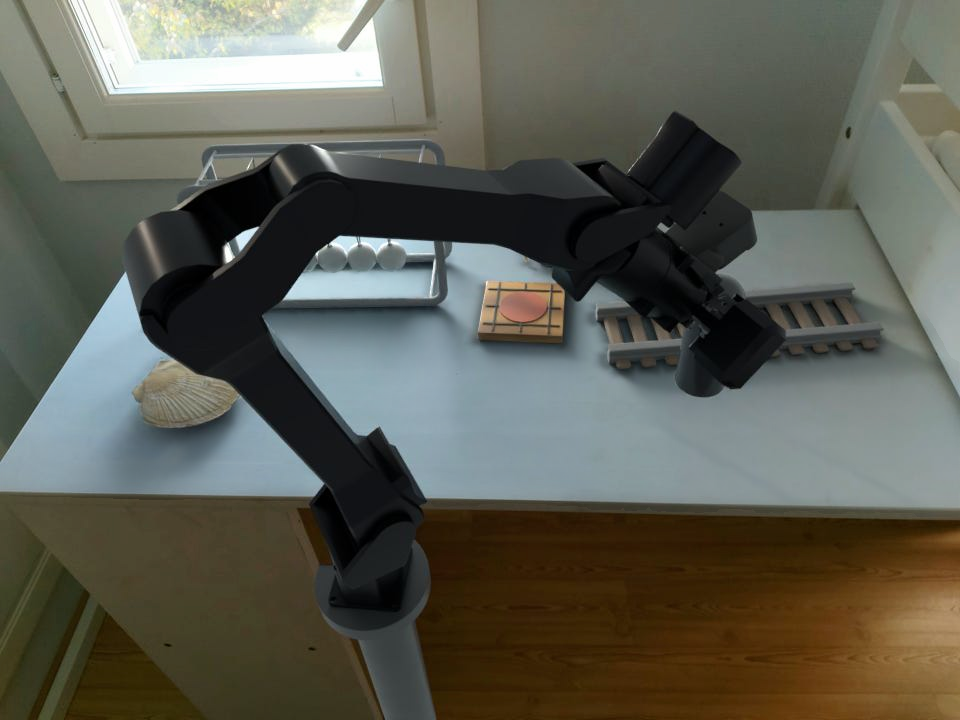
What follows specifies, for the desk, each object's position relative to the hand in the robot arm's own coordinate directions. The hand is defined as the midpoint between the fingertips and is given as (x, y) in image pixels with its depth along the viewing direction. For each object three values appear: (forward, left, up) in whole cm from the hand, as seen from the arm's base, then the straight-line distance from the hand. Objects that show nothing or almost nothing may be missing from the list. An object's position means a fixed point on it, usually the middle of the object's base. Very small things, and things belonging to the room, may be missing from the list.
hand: (722, 325), depth 70 cm
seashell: (-1, +56, -14) cm, 57 cm away
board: (+16, +20, -13) cm, 29 cm away
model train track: (+15, -5, -14) cm, 21 cm away
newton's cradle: (+21, +45, -14) cm, 51 cm away
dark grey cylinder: (-1, +1, -7) cm, 7 cm away
